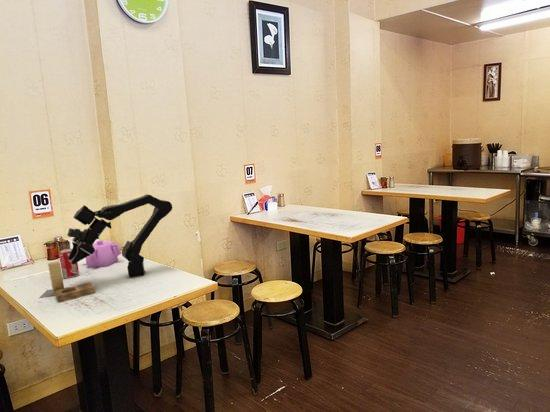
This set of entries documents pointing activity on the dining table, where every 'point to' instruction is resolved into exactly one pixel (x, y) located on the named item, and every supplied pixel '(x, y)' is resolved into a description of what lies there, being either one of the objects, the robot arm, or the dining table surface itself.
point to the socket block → (74, 292)
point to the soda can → (68, 265)
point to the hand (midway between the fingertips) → (70, 261)
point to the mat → (48, 293)
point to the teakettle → (103, 254)
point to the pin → (56, 276)
